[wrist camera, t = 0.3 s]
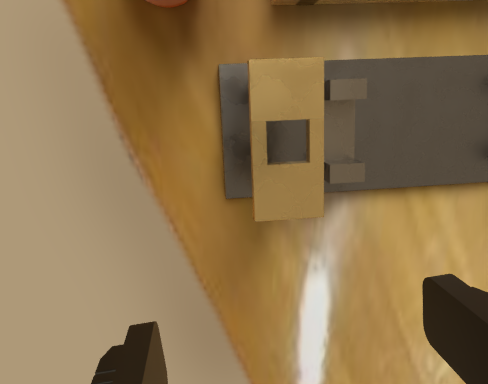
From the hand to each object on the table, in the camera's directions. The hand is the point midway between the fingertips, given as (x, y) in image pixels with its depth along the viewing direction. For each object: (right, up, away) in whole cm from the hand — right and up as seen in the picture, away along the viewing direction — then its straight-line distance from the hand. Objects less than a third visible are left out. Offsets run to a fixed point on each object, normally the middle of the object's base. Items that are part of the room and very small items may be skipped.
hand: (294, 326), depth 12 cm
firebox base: (+12, +11, +28) cm, 32 cm away
